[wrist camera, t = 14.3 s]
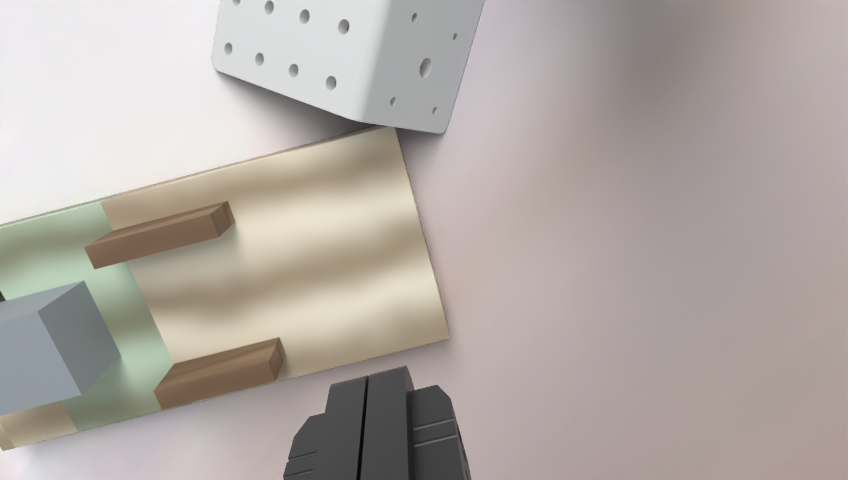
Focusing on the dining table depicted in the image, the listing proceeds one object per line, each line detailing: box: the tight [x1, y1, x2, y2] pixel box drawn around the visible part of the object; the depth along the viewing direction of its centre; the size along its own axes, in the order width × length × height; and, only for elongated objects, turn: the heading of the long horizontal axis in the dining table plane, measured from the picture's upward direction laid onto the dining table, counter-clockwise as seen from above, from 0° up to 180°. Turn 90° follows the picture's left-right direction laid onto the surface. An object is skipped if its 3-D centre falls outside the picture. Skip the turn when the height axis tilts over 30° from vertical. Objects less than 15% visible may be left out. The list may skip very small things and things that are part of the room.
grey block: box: [0, 280, 121, 416], centre depth 35 cm, size 6×7×5 cm
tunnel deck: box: [0, 125, 450, 451], centre depth 37 cm, size 16×35×6 cm, turn 104°
